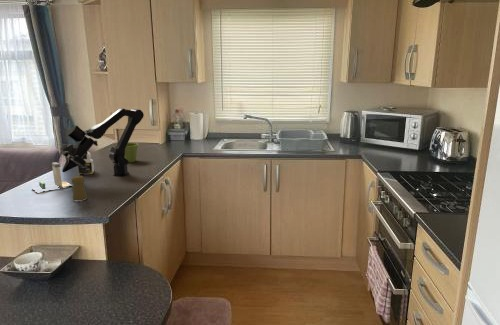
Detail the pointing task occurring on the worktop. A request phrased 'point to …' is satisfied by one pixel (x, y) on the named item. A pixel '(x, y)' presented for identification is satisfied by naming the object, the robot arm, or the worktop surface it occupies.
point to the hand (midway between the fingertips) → (62, 171)
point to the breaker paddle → (57, 173)
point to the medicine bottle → (86, 165)
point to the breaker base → (64, 184)
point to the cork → (78, 188)
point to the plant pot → (131, 152)
